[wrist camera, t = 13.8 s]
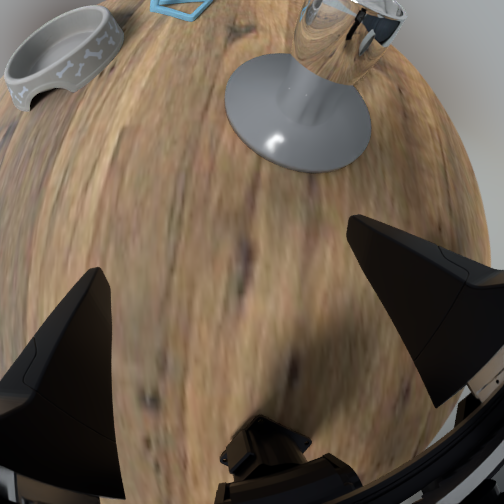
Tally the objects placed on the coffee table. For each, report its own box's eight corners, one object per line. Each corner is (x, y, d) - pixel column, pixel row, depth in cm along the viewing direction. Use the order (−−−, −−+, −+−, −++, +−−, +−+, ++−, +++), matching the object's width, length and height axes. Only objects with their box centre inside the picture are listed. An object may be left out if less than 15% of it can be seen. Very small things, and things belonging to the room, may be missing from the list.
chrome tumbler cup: (281, 72, 25) (324, -38, 10) (339, 98, 25) (407, 2, 11) (260, 113, 24) (304, -19, 9) (327, 142, 24) (413, 35, 9)
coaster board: (384, 114, 27) (388, 110, 26) (327, 206, 24) (331, 203, 23) (278, 43, 27) (280, 38, 26) (191, 111, 24) (191, 105, 23)
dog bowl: (31, 51, 22) (20, 32, 17) (130, 14, 25) (125, -11, 20) (1, 128, 21) (-18, 109, 15) (117, 81, 24) (106, 50, 18)
